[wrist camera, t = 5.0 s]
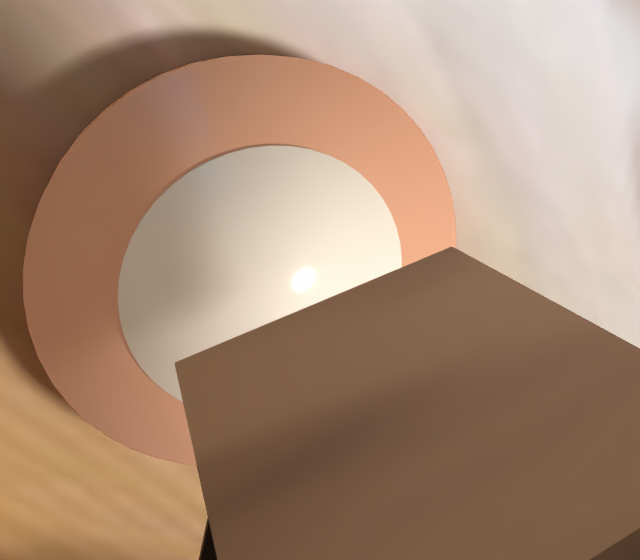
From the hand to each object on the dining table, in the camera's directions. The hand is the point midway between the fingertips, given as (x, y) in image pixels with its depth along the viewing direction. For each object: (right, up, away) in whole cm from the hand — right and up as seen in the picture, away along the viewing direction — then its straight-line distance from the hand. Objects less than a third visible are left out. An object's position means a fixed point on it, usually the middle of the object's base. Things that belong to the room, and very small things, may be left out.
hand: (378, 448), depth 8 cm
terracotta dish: (-3, +3, +6) cm, 7 cm away
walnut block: (0, 0, +1) cm, 1 cm away
